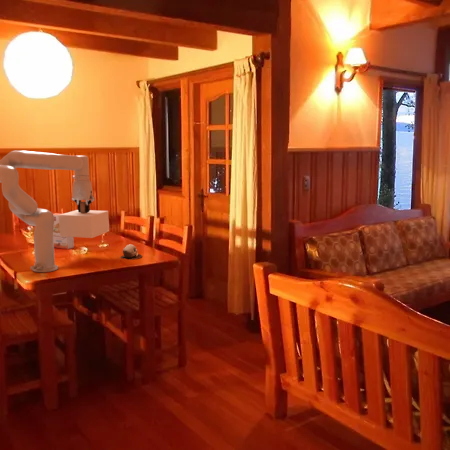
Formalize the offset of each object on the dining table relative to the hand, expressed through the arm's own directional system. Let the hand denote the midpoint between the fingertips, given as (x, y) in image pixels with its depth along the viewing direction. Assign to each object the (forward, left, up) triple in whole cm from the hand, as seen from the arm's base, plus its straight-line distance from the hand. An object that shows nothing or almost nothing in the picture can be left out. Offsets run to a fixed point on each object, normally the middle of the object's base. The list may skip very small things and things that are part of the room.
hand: (83, 211), depth 287 cm
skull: (+15, -20, -28) cm, 37 cm away
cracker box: (+26, +32, -28) cm, 50 cm away
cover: (0, 0, -12) cm, 12 cm away
